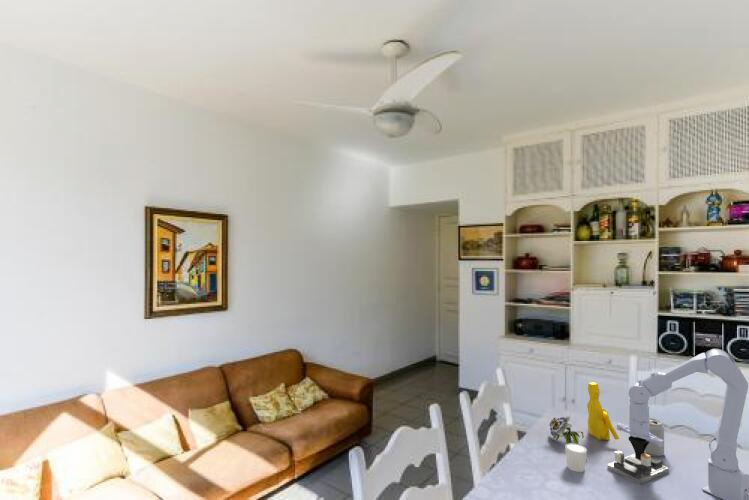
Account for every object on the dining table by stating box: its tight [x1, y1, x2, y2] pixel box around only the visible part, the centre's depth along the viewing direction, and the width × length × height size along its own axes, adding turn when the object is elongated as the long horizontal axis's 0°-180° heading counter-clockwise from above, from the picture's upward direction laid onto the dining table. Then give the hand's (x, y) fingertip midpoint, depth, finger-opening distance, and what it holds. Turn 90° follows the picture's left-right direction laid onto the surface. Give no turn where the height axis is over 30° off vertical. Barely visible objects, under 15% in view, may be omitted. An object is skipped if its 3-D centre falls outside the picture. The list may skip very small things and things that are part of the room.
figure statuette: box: [586, 382, 620, 441], centre depth 163 cm, size 18×8×22 cm, turn 6°
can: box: [645, 417, 665, 457], centre depth 151 cm, size 8×8×12 cm
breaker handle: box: [641, 453, 651, 467], centre depth 137 cm, size 2×2×3 cm
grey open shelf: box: [607, 450, 670, 486], centre depth 139 cm, size 11×16×6 cm
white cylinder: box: [564, 442, 588, 473], centre depth 141 cm, size 7×7×7 cm
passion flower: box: [549, 416, 585, 444], centre depth 160 cm, size 11×11×12 cm
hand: (639, 458), depth 138 cm, fingers closed
